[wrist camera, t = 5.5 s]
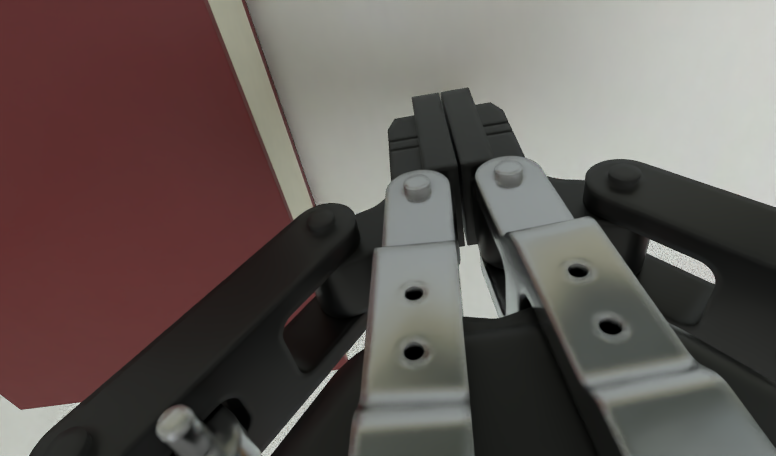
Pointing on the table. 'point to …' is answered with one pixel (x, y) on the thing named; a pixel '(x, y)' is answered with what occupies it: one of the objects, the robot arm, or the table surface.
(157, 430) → the robot arm
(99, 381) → the book
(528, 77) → the table surface
